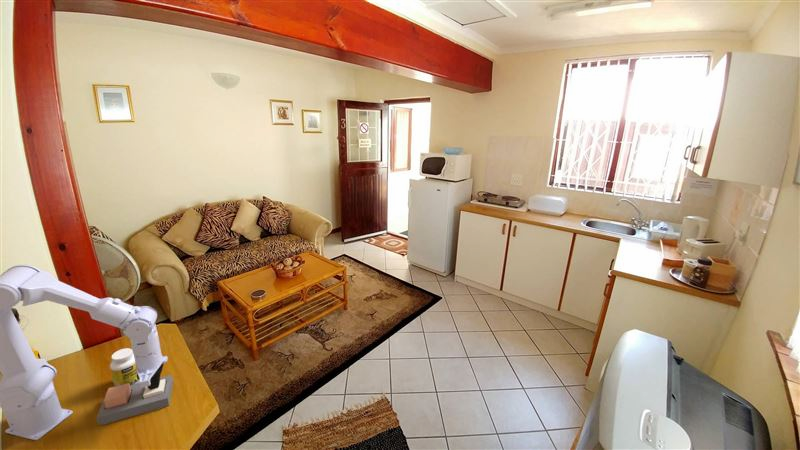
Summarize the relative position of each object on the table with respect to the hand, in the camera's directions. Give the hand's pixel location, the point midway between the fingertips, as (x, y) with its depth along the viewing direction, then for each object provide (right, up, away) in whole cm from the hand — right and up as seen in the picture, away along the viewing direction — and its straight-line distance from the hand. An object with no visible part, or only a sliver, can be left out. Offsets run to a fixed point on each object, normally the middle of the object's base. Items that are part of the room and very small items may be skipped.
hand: (154, 386), depth 88 cm
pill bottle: (-12, -1, +5) cm, 13 cm away
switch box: (-4, -4, -1) cm, 6 cm away
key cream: (0, -3, +1) cm, 3 cm away
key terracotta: (-7, -2, -3) cm, 8 cm away
